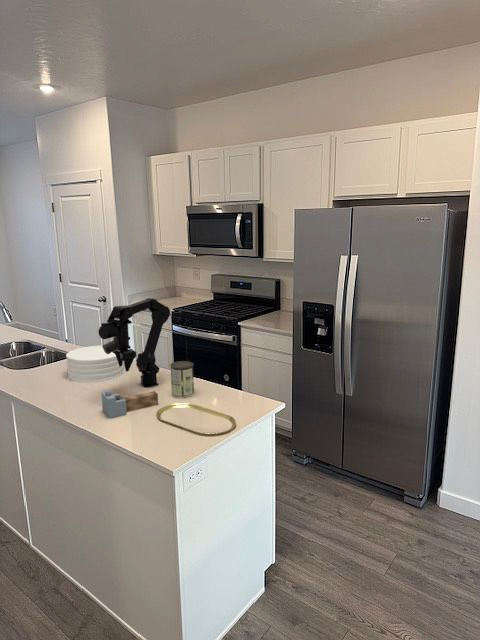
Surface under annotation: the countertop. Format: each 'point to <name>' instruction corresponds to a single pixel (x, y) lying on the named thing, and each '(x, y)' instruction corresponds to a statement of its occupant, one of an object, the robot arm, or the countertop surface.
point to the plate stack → (93, 365)
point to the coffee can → (182, 379)
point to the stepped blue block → (113, 404)
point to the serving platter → (200, 410)
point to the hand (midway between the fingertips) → (123, 368)
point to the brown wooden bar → (140, 400)
